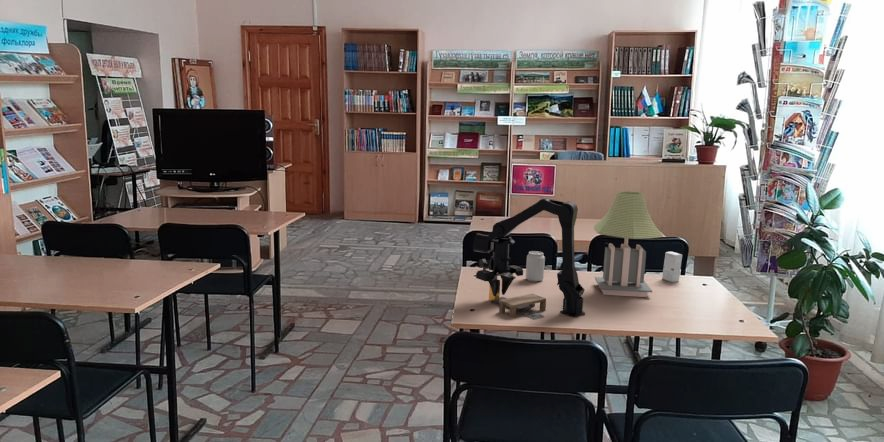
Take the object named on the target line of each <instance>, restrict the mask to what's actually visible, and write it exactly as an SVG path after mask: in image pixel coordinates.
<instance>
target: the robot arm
mask: <svg viewBox="0 0 884 442" xmlns="http://www.w3.org/2000/svg"><path fill="white" fill-rule="evenodd" d="M544 211H545V212H547V213H550V214H552V215H556V216H557V218H558V222H559V225H560V227H561V244H562V245H561V247H562V248H561V251H562V252H561V255H562V256H561V258H562V263H561V264H562V268H561V270H559V271H558V272H557V274H556V277H557V284H556V285H557V286H558V288H559V290H560V292H562V293H563V294H562V295H563V300H562V309H561V310H560V311H559V313H561V314H563V315H567V316H569V317H572V318H573V317H578V316H582V315H586V312H584V311H583V308H584V304H583V303H584V298H583V297H582V296H583V294H584V292H585V288H584V287H583V286H582V285H581V284H580V282H579V281H580V280H579V274H578V272H577V269H576V265H575V262H576V261H575V225H576V221H577V216H578V211H579V210H578V205H577V204H576V203H575V202H573V201H570V200H569V201H565V202H564V201H559V200H556V199H550V198H548V197H544V198H542V199H539V200H538V201H537V202H535V203H534V204H531V206H528V207H526V208H525V209H524V210H522V211H520V212H519V213H517V214H515V215H514V216H510V217H508V218H505V219H502V220H500V221H497V222H496V223H494V224H493V226H492V231H491V232H490V233H489V234H482V233H478V232H477V233H476V234H475V237H474V239H473V243H472V249H473V250H472V251H473V252H476V253H477V252H478V253H486V254H490V252H492V256H490V258H489V260H486V258H480V259H479V260H478V267H479V270H477V271H476V273H475V279H478V280H480V281H483V282H488V284H489V286H490V287H491V290H492V293H493V296H496V295H497V291H498V286H499V281H500V282H501V295H502V296H505V294H507V291H508V290H509V288H510V285H512V283H513V281H514V280H515V279H516V277H520V276H521V277H522V276H524V269H523V267H522V266H517V265H514V264H513V265H509V262H511V261H512V258H511V257H510V255H509V253H510V245H511V246H512V245H513V244H515V243H516V241H515V239H513V238H512V236H509V237H506V236H508V235H510V234H511V233H512V232H513V231H515V230H516V229H517V228H518V226H520V225H521V224H523V223H525V222H526V221H528V220H530V219H531V218H533V217H535V216H536V215H539V214H540V213H542V212H544ZM505 237H506V238H505ZM496 238H499V239H496ZM514 274H515V275H516V276H514ZM499 276H500V278H501V279H498V277H499Z"/></svg>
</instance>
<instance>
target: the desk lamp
mask: <svg viewBox="0 0 884 442" xmlns="http://www.w3.org/2000/svg"><path fill="white" fill-rule="evenodd" d="M593 230H594V231H595V232H596V233H597V234H598V235H603V236H608V237H614V238H615V237H616V238H621V239H624V240H623V241H624V242H623V243H621V244H620V247H615V245H614V244H613V243H611V242H610V243H608V247H606V246H605V247H604V257H603V258H604V259H603V273H602V276H601V277H600V276H594V280H595V282H596V283H597V286H598V287H599V289H600V290H601V292H602V295H604V296H605V295H608V296H620V297H621V296H623V297H624V296H625V297H641V298H647V297H648V293H653V289H651V287H650V286H649V285H648V284H647V282H646V281H645V273H646V272H645V269H646V259H647V251H646V250H645V249H644V248H643V246H641V244H636V245H635V246H636V247H635V248H631V246H630V245H629V239H630V240H631V239H632V240H639V239H641V240H645V239H646V240H647V239H655V238H656V239H658V238H662V237H663V234H662V232H661V231H660V230H659V229H658V227H657V226H656V225H655V223H654V222H653V220H652V218H651V215H650V213H649V212H648V208H647V205H646V202H645V197H644V194H643V193H642V192H639V191H629V190H627V191H626V190H624V191H622V190H621V191H617V193H616V196H615V198H614V200H613V202H612V204H611V206H610V208H609V209H608V211H607V212H606V213H605V215H604V216H603V217H602V218H601V219H599V221H598V222H597V223H596V224H594V225H593Z"/></svg>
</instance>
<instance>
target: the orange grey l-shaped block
mask: <svg viewBox="0 0 884 442" xmlns="http://www.w3.org/2000/svg"><path fill="white" fill-rule="evenodd" d="M488 287H489V288H488V289H489V290H488V291H489V293H488V301H491V304H494V305H497V306H499V304H500V300H503V299H508V298H509V297H508V298H507V297H505V296H501V297H500V294H501V293H500V292H501V291H500V290H501V280H500V281H499V286H498V291H497V295H496V296H493V293H492V290H491V287H490V285H489V286H488ZM506 308H507V309H509V310H510V307H509V306H506V305H505V309H506ZM531 308H532V307H531V305H525V306H521V307H516V312H520V313H521V312H525V311H527V310H531Z"/></svg>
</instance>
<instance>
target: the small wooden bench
mask: <svg viewBox="0 0 884 442" xmlns="http://www.w3.org/2000/svg"><path fill="white" fill-rule="evenodd" d="M538 303H539V311H541V312H545V311H546V309H547V306H546V305H547V298H546V297H543V296H540V295H538V294H535V293H529V294H524V295H519V296H514V297H508V299H503V300H500V304H499V305H498V307H499V309H498V312H499V313H500V314H505V313H506V307H505V305H506V306H509V307H510V309H509V317H510V318H512V319H514V318H516V316H517V311H516V307H521V306H525V305H531V308H534V307H535V306H536V304H538Z"/></svg>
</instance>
